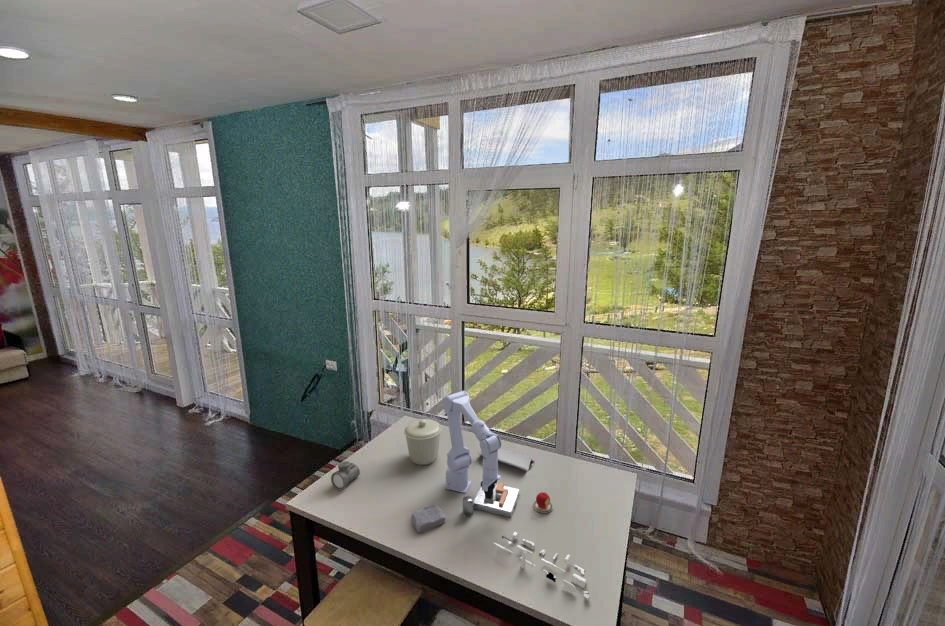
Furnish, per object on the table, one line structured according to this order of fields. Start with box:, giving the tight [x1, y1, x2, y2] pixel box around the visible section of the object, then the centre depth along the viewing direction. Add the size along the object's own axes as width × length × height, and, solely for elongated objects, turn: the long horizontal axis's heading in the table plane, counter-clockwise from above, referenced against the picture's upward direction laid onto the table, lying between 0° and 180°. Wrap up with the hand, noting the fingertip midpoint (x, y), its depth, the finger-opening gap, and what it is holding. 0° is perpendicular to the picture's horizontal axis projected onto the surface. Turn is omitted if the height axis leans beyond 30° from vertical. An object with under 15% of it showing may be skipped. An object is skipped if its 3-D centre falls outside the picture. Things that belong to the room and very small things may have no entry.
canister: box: [403, 418, 442, 466], centre depth 198 cm, size 18×18×21 cm
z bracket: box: [476, 447, 535, 472], centre depth 198 cm, size 12×25×6 cm
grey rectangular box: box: [485, 481, 497, 505], centre depth 160 cm, size 3×3×8 cm
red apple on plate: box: [532, 491, 554, 514], centre depth 167 cm, size 8×8×6 cm
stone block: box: [411, 504, 446, 533], centre depth 161 cm, size 12×5×10 cm
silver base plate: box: [474, 483, 520, 518], centre depth 171 cm, size 16×14×2 cm
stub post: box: [462, 495, 475, 517], centre depth 164 cm, size 4×4×6 cm
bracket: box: [484, 482, 508, 506], centre depth 171 cm, size 8×12×1 cm, turn 161°
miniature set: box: [493, 530, 590, 601], centre depth 141 cm, size 6×35×12 cm
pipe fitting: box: [330, 460, 361, 491], centre depth 183 cm, size 12×8×10 cm
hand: (490, 494), depth 161 cm, fingers closed on grey rectangular box, 3 cm apart
